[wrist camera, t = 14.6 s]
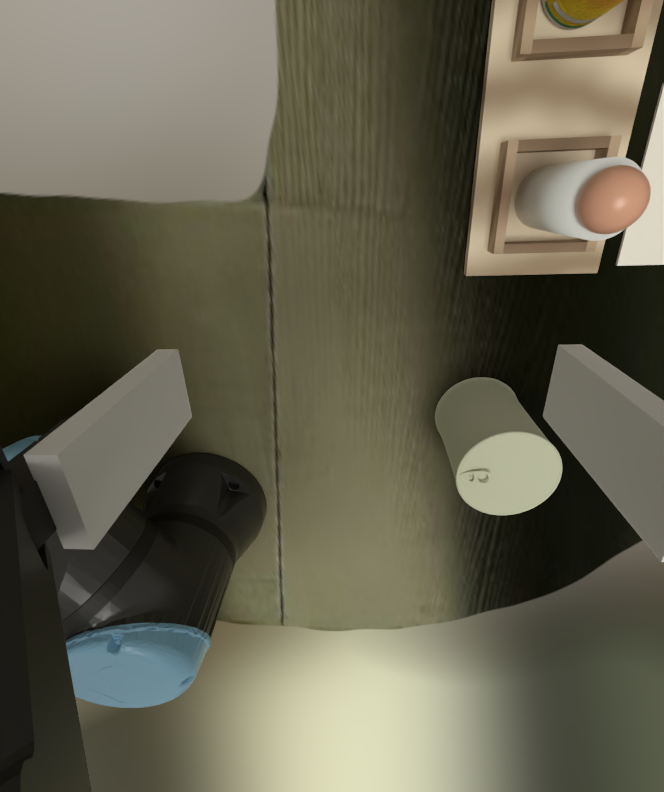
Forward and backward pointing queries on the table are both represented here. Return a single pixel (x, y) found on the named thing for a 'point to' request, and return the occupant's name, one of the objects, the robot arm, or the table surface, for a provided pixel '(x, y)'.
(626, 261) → the card
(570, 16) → the supplement bottle
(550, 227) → the ball tube
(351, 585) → the table surface
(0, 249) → the table surface
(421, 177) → the table surface
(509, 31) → the tube rack
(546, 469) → the can
